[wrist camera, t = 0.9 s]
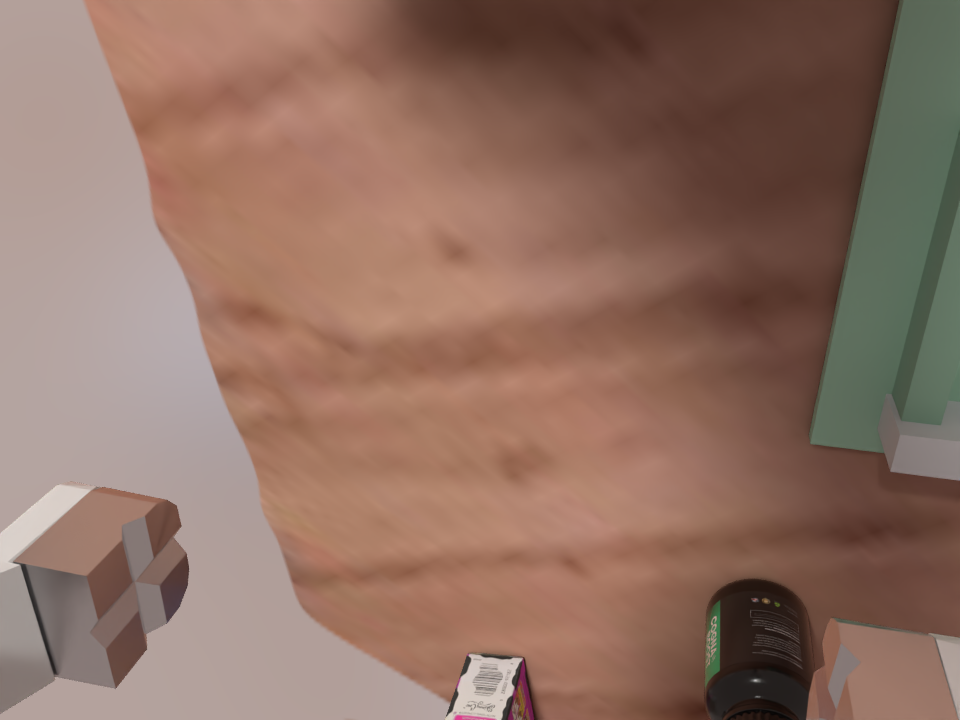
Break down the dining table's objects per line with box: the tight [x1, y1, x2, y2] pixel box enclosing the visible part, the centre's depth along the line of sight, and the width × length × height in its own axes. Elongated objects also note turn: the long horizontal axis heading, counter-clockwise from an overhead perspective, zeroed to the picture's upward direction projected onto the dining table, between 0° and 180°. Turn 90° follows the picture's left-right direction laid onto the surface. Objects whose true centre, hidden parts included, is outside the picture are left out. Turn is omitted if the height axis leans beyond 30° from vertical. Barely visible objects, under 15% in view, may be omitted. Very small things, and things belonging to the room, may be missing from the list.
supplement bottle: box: [704, 579, 815, 720], centre depth 55 cm, size 7×7×12 cm
